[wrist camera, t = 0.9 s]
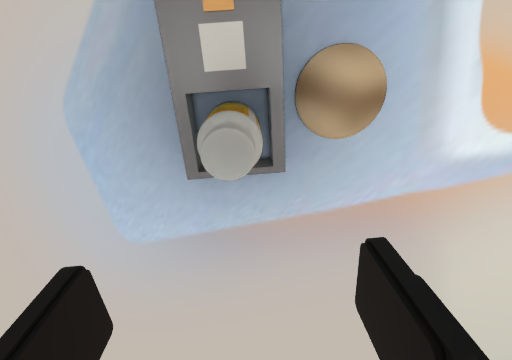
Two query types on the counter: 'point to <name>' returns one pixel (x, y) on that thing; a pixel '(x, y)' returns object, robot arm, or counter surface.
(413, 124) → the counter surface
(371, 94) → the cork coaster
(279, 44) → the gray rectangular fixture
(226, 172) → the supplement bottle
